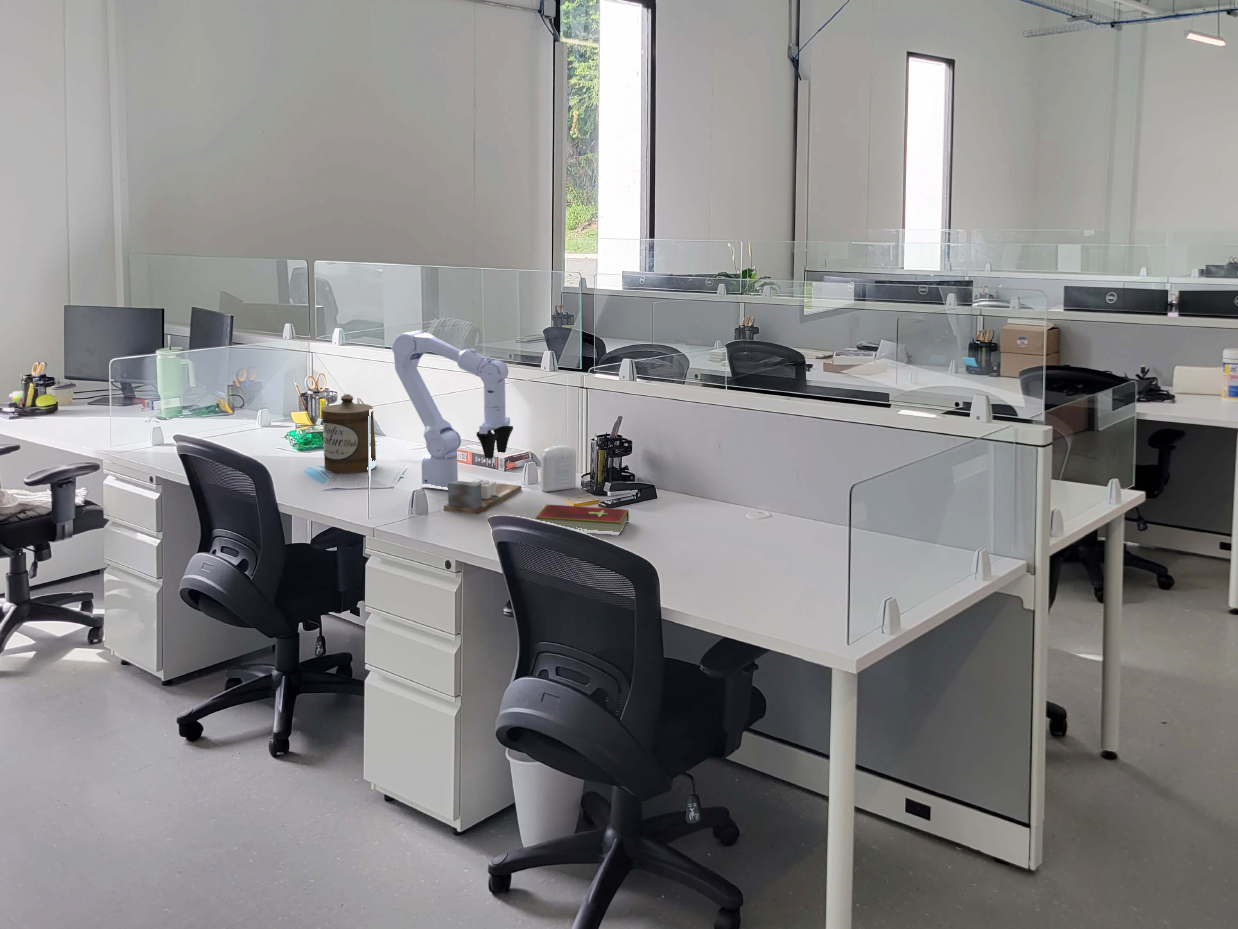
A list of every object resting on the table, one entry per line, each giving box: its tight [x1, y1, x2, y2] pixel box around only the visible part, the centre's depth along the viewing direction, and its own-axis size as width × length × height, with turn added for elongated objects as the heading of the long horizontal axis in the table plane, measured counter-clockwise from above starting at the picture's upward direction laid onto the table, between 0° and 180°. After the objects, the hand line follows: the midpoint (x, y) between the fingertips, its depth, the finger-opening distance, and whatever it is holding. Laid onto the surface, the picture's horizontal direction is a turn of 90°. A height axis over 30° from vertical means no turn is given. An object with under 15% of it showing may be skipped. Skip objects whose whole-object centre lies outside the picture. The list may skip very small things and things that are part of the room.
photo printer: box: [540, 444, 577, 493], centre depth 298 cm, size 10×4×12 cm, turn 123°
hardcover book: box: [534, 503, 630, 532], centre depth 265 cm, size 12×21×4 cm, turn 81°
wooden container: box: [321, 393, 377, 474], centre depth 317 cm, size 15×15×22 cm
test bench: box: [443, 480, 522, 515], centre depth 287 cm, size 10×26×7 cm, turn 161°
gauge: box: [471, 478, 498, 499], centre depth 283 cm, size 8×8×4 cm
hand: (495, 455), depth 293 cm, fingers open, 7 cm apart
